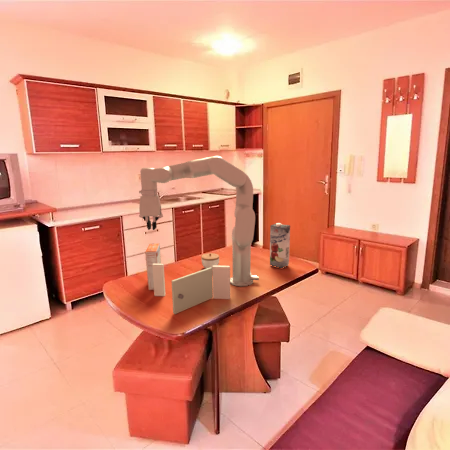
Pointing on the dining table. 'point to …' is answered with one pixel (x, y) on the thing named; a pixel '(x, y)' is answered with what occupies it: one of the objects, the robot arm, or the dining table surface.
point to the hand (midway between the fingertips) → (151, 229)
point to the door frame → (219, 281)
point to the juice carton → (279, 245)
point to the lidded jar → (210, 260)
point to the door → (192, 290)
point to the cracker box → (152, 262)
